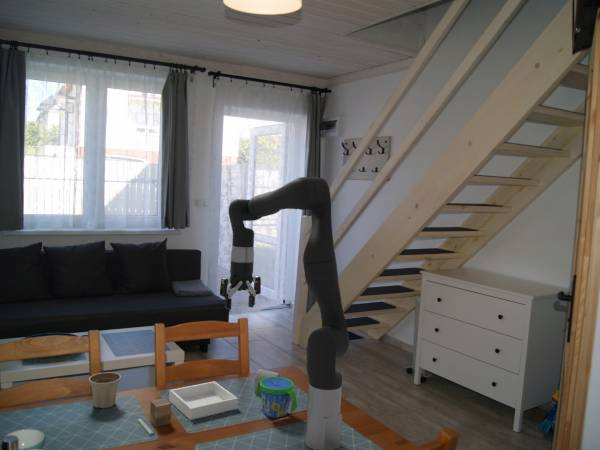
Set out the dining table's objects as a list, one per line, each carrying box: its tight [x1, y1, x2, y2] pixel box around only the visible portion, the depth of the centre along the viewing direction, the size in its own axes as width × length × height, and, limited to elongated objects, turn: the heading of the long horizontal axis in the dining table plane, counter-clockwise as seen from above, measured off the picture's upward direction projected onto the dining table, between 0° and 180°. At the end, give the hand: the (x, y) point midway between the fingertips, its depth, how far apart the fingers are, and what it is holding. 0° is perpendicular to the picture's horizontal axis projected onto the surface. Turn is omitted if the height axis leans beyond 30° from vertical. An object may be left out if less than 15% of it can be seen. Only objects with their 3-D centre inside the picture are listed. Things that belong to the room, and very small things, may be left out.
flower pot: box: [88, 371, 122, 409], centre depth 161 cm, size 9×9×9 cm
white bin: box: [168, 380, 239, 421], centre depth 164 cm, size 16×16×4 cm
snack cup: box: [255, 376, 298, 419], centre depth 161 cm, size 16×10×10 cm
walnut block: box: [149, 397, 172, 428], centre depth 150 cm, size 4×4×6 cm
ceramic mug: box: [253, 368, 282, 393], centre depth 179 cm, size 11×8×8 cm
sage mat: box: [137, 418, 155, 436], centre depth 150 cm, size 10×10×1 cm
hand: (239, 308), depth 171 cm, fingers open, 8 cm apart
